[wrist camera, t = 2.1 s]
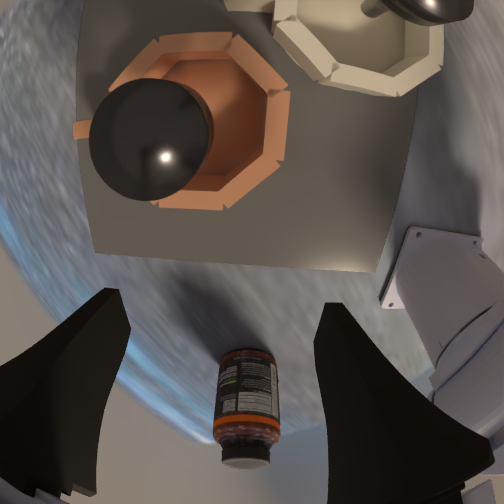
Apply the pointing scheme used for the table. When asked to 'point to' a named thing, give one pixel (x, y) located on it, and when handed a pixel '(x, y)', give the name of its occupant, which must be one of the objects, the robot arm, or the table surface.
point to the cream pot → (352, 44)
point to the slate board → (272, 187)
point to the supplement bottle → (247, 409)
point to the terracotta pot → (219, 112)
